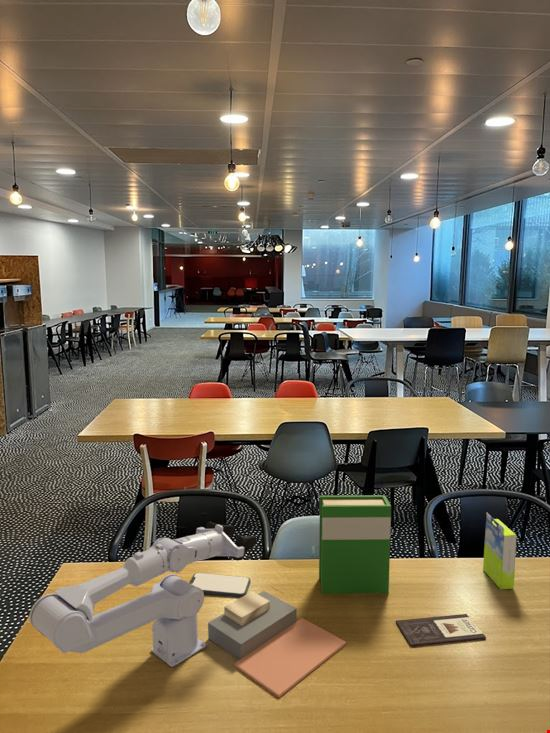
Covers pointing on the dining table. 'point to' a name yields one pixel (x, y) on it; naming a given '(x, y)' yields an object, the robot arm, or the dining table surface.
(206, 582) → the phone case
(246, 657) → the mat
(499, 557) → the box
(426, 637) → the chocolate bar
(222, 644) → the block
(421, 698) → the dining table surface
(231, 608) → the tile
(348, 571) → the hardback book
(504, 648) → the dining table surface
